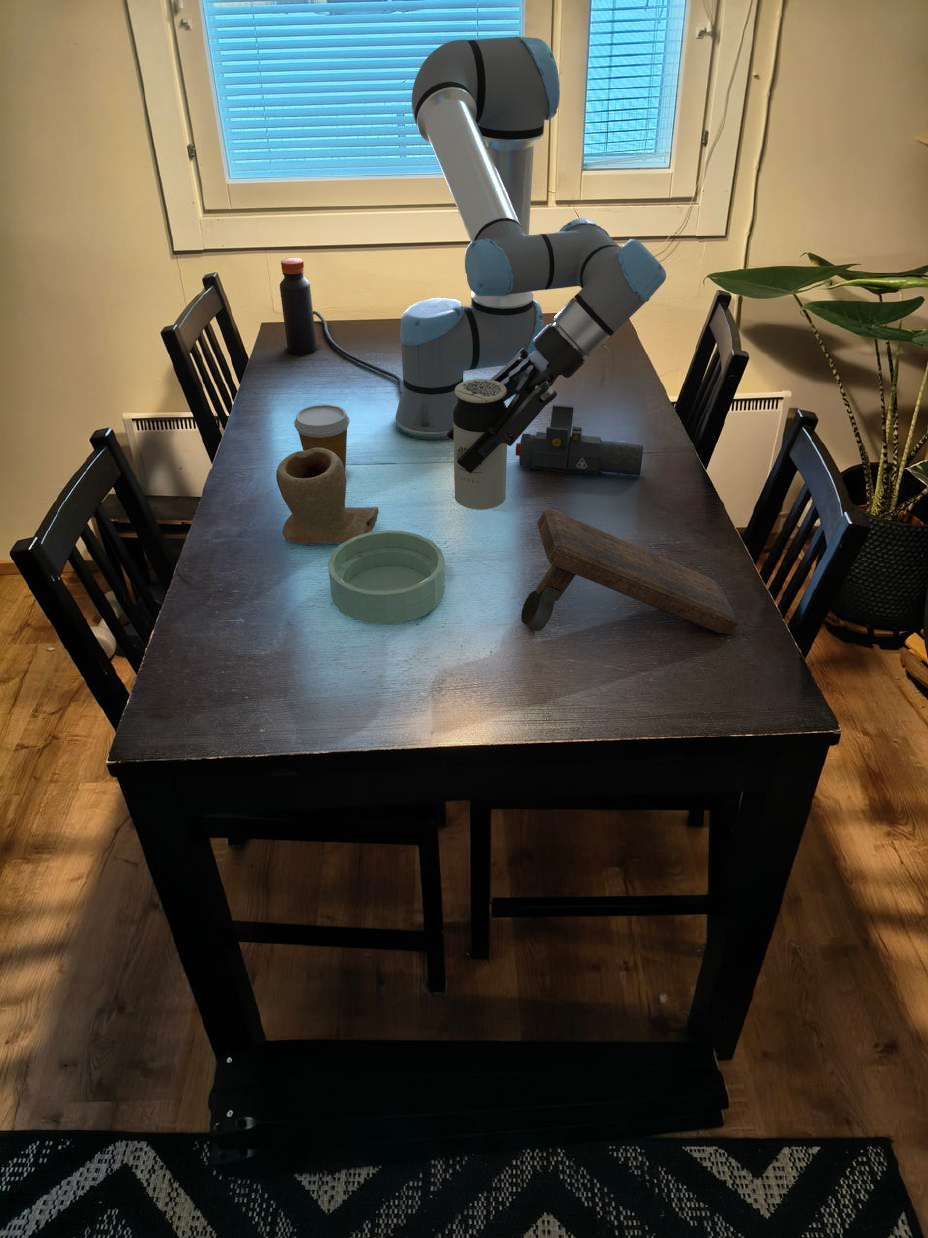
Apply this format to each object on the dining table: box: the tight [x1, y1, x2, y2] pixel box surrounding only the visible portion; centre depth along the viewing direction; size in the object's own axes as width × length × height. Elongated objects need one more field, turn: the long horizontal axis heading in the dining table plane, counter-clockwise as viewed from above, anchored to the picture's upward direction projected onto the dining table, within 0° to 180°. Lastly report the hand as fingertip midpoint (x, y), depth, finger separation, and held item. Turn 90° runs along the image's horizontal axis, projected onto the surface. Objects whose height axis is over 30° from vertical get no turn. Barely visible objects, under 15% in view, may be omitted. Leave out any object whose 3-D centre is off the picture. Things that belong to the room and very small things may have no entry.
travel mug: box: [453, 378, 508, 511], centre depth 136 cm, size 8×8×18 cm
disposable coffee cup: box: [293, 403, 351, 471], centre depth 161 cm, size 10×10×12 cm
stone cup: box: [275, 448, 380, 546], centre depth 144 cm, size 15×12×15 cm
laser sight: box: [515, 404, 644, 476], centre depth 163 cm, size 10×22×10 cm, turn 79°
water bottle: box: [279, 257, 318, 355], centre depth 208 cm, size 7×7×20 cm
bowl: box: [327, 529, 446, 626], centre depth 134 cm, size 17×17×6 cm
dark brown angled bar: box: [520, 507, 739, 635], centre depth 128 cm, size 10×16×30 cm
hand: (458, 453), depth 136 cm, fingers closed on travel mug, 8 cm apart
